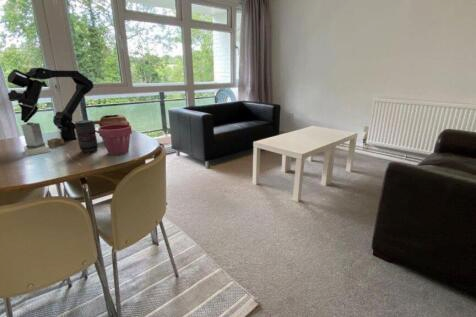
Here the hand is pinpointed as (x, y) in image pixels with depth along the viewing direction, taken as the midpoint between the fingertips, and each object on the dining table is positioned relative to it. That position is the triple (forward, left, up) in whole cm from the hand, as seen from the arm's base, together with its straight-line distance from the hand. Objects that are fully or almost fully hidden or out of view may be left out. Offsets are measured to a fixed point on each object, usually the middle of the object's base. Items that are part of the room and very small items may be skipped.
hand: (23, 121), depth 129 cm
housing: (-2, +9, -11) cm, 14 cm away
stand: (-2, +8, -14) cm, 16 cm away
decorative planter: (-37, +10, -14) cm, 41 cm away
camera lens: (-21, +25, -14) cm, 36 cm away
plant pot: (-31, +36, -14) cm, 50 cm away
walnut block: (-11, +2, -14) cm, 18 cm away
